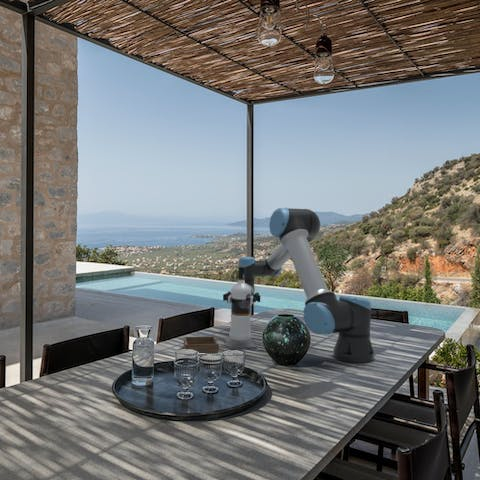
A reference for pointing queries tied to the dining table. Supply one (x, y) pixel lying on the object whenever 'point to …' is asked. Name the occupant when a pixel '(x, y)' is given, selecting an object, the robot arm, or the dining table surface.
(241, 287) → the vodka
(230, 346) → the slate board
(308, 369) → the dining table surface
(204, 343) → the bottle well
